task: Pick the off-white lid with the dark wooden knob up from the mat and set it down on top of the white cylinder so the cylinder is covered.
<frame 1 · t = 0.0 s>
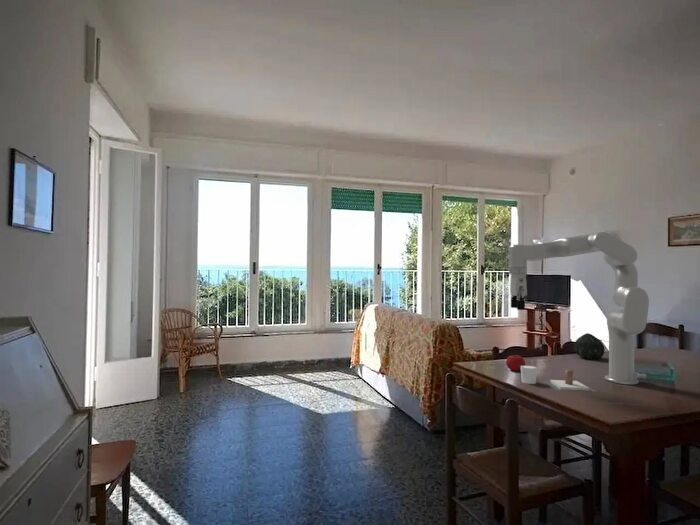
hand: (517, 308, 190), 31 cm above the table, tool pointing down, fingers open, 9 cm apart
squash: (589, 358, 234), on the table
white cylinder: (528, 383, 180), on the table
lid: (568, 386, 174), resting on mat
tomato: (515, 370, 202), on the table
mat: (568, 387, 174), on the table
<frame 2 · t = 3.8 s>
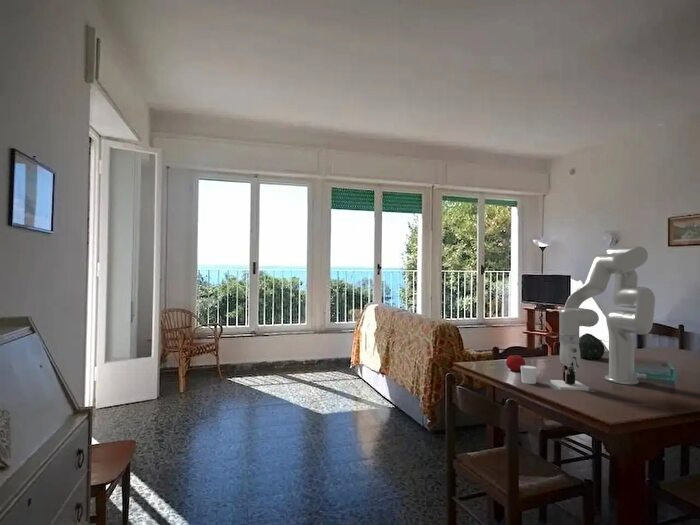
hand: (568, 382, 174), 2 cm above the table, tool pointing down, fingers closed on lid, 2 cm apart
lid: (568, 386, 174), resting on mat, touching gripper
everything else where it was.
when the fingers open (10 cm above the table, at t = 9.1 s): lid drops 2 cm, resting on white cylinder.
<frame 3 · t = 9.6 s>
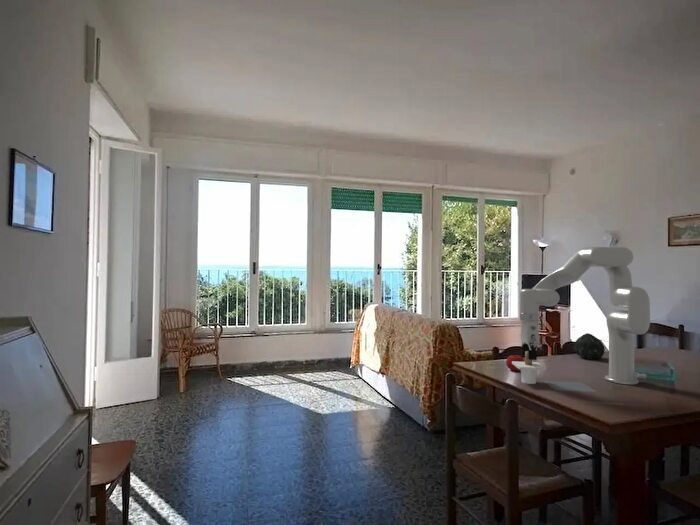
hand: (528, 357, 180), 11 cm above the table, tool pointing down, fingers open, 8 cm apart
white cylinder: (528, 383, 180), on the table, touching lid
lid: (528, 366, 180), point 7 cm above the table, touching white cylinder
everything else where it was.
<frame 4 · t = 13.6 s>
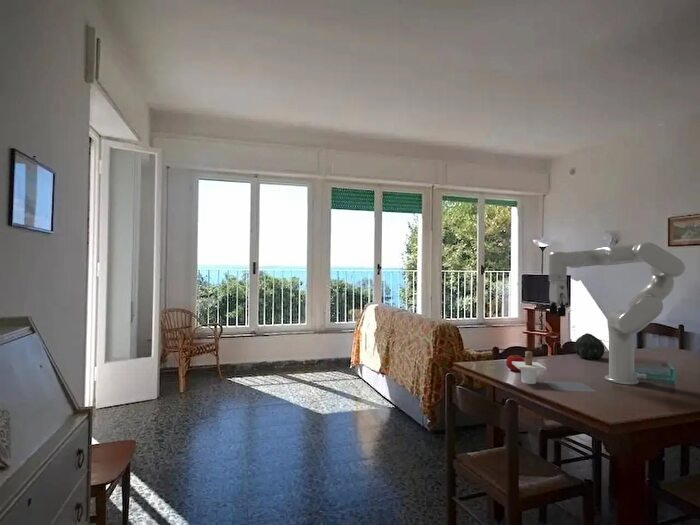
hand: (557, 315, 192), 28 cm above the table, tool pointing down, fingers open, 9 cm apart
nothing on the table moved.
at the end: lid 0.1 cm from the white cylinder (horizontally); lid point 7.0 cm above the table; white cylinder tilted 0° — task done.
